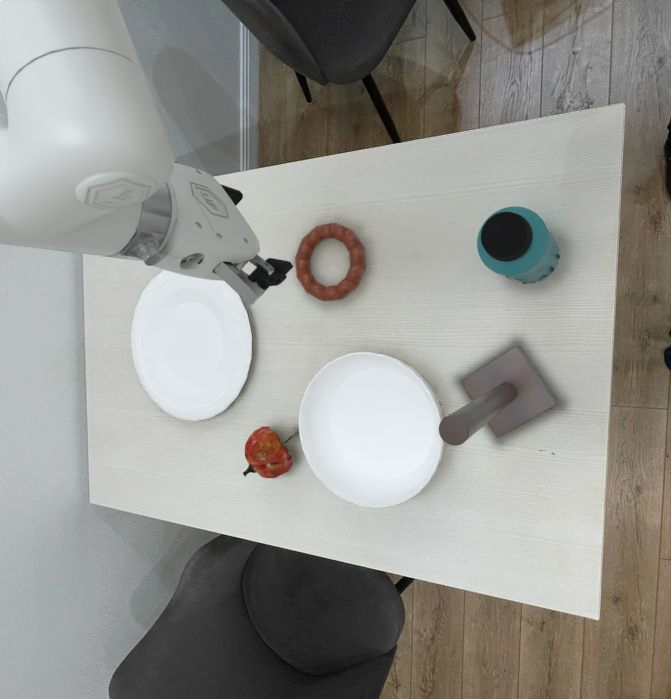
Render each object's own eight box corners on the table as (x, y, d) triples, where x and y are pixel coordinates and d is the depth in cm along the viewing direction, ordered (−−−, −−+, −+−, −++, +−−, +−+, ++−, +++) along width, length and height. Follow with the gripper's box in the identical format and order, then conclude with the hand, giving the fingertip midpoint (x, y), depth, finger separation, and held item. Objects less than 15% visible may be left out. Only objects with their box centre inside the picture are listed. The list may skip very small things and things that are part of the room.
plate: (266, 418, 81) (259, 420, 79) (146, 420, 92) (137, 422, 91) (250, 251, 81) (243, 250, 79) (131, 275, 92) (122, 274, 90)
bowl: (331, 495, 76) (309, 509, 71) (310, 359, 77) (287, 362, 71) (467, 492, 67) (454, 508, 62) (443, 338, 68) (428, 340, 62)
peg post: (517, 345, 64) (466, 360, 41) (558, 402, 62) (528, 450, 40) (462, 380, 67) (387, 412, 45) (499, 436, 65) (440, 498, 43)
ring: (341, 209, 73) (334, 206, 72) (381, 270, 71) (375, 268, 69) (288, 256, 78) (280, 255, 76) (324, 315, 75) (317, 315, 74)
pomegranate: (286, 412, 82) (228, 448, 80) (288, 407, 75) (225, 447, 72) (312, 454, 81) (254, 492, 79) (317, 453, 74) (254, 495, 72)
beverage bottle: (505, 229, 64) (464, 195, 46) (566, 228, 61) (547, 192, 43) (501, 285, 64) (459, 272, 46) (561, 286, 61) (541, 274, 43)
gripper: (213, 262, 37) (328, 278, 53) (100, 92, 41) (237, 152, 57) (152, 329, 40) (278, 326, 55) (52, 164, 44) (195, 203, 60)
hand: (257, 238), depth 56 cm, fingers open, 9 cm apart
